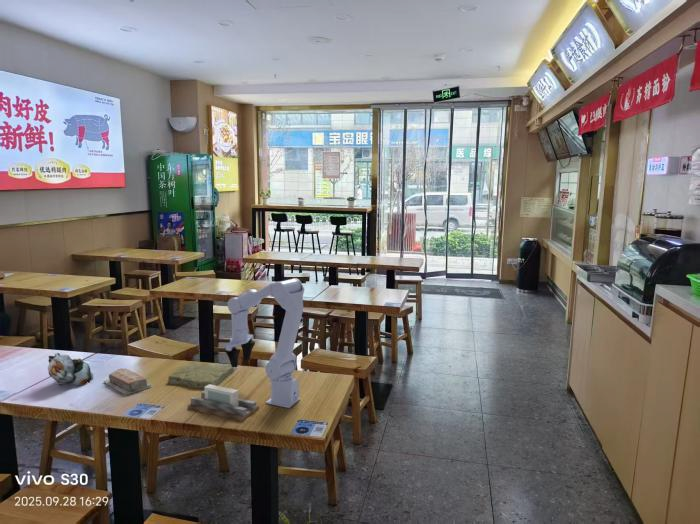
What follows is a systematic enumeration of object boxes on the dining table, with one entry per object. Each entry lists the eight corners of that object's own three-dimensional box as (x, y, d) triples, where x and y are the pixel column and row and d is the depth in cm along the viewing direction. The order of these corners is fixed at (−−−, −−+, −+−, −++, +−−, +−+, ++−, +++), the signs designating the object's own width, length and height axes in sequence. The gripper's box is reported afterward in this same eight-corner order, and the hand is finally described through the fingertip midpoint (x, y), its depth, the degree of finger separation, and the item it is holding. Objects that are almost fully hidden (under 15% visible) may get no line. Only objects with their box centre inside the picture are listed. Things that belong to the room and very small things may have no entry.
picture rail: (258, 408, 162) (258, 400, 161) (241, 421, 152) (241, 412, 152) (207, 396, 170) (206, 389, 170) (187, 408, 161) (187, 400, 160)
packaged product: (151, 375, 177) (125, 384, 170) (152, 388, 178) (126, 396, 170) (128, 364, 188) (102, 372, 181) (128, 376, 189) (103, 384, 181)
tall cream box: (238, 406, 160) (238, 390, 159) (233, 410, 158) (233, 393, 157) (210, 400, 165) (209, 384, 164) (204, 403, 162) (204, 387, 162)
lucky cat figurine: (95, 383, 180) (77, 358, 172) (63, 400, 176) (42, 376, 168) (90, 361, 191) (73, 337, 183) (59, 377, 187) (40, 352, 179)
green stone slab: (190, 368, 198) (189, 360, 198) (234, 372, 194) (234, 364, 194) (164, 386, 180) (163, 377, 180) (212, 391, 176) (212, 382, 176)
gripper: (242, 322, 183) (243, 355, 185) (218, 332, 170) (219, 368, 172) (257, 324, 181) (258, 358, 183) (234, 334, 167) (235, 371, 169)
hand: (240, 363), depth 177 cm, fingers open, 7 cm apart
